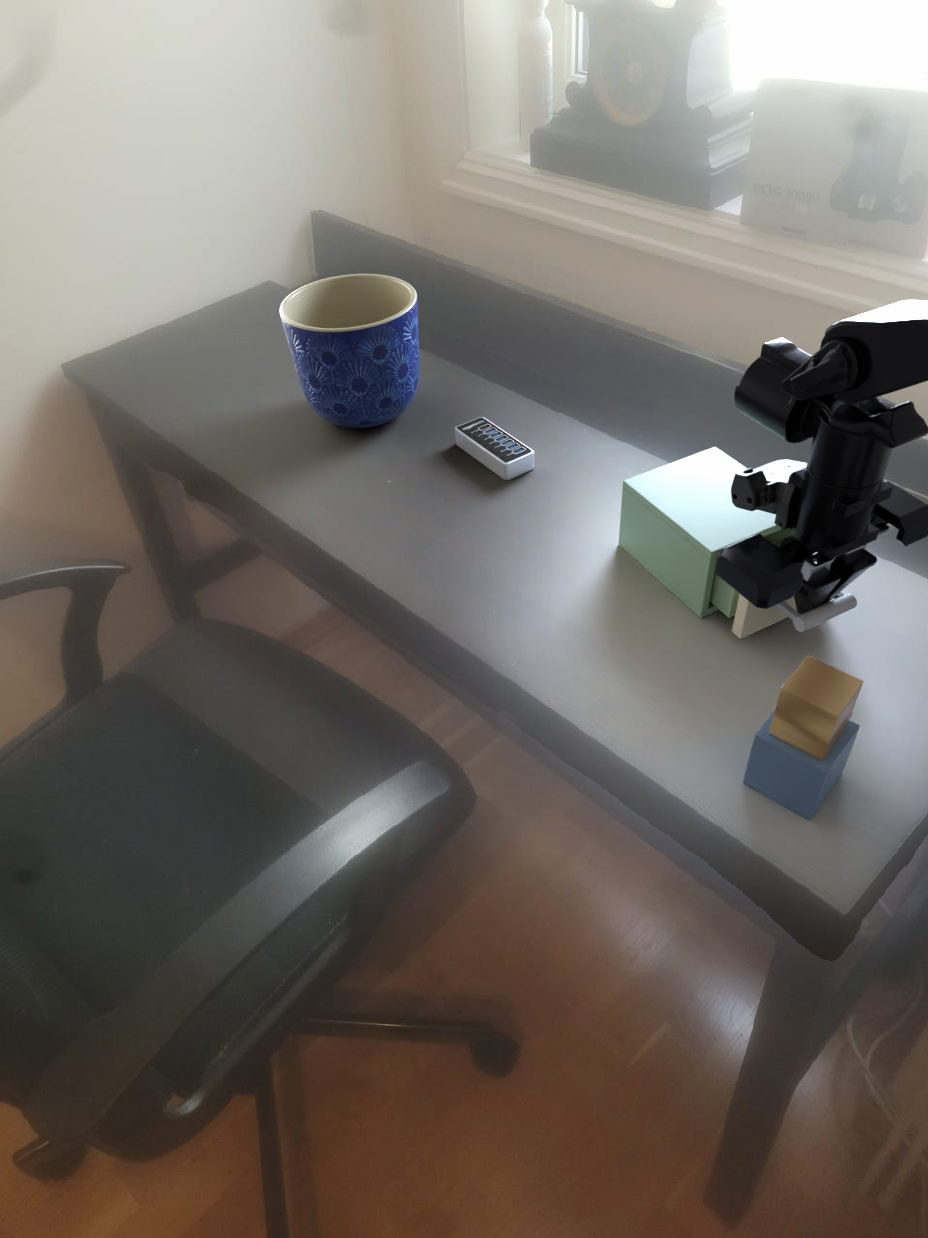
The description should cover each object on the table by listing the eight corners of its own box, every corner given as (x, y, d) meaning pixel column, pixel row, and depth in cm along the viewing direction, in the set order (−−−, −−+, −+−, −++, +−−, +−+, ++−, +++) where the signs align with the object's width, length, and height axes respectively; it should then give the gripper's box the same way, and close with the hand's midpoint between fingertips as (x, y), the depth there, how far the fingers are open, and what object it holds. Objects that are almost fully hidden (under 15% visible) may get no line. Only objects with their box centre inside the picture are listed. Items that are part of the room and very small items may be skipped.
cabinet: (793, 577, 86) (810, 511, 81) (700, 618, 83) (711, 552, 77) (705, 509, 95) (715, 446, 90) (618, 544, 92) (622, 480, 86)
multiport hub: (506, 481, 102) (505, 464, 100) (454, 443, 109) (453, 427, 107) (535, 467, 104) (535, 451, 102) (483, 431, 111) (482, 415, 109)
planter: (361, 459, 108) (341, 343, 97) (277, 417, 117) (251, 307, 106) (454, 404, 116) (445, 292, 106) (369, 369, 125) (353, 263, 115)
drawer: (864, 628, 79) (882, 575, 75) (776, 671, 76) (790, 618, 72) (738, 532, 91) (747, 481, 86) (657, 565, 88) (662, 514, 83)
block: (847, 726, 65) (864, 680, 61) (821, 761, 62) (838, 716, 59) (794, 700, 67) (807, 654, 63) (768, 733, 65) (780, 687, 61)
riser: (841, 774, 69) (860, 725, 65) (809, 820, 66) (826, 772, 62) (776, 739, 72) (790, 690, 68) (742, 782, 69) (754, 734, 65)
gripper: (855, 393, 76) (817, 535, 86) (683, 457, 70) (665, 601, 81) (963, 450, 68) (907, 598, 79) (780, 527, 62) (746, 675, 73)
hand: (804, 615), depth 78 cm, fingers closed, pressing on drawer
